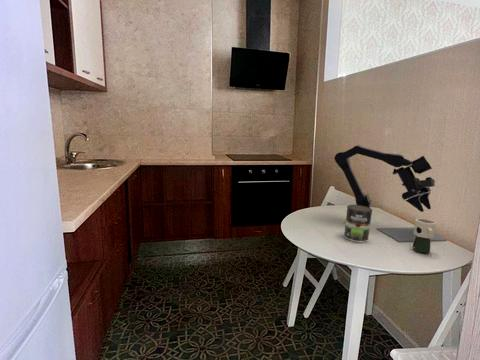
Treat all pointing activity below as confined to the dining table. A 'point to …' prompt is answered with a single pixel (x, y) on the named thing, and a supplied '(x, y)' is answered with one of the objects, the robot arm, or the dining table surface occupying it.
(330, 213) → the dining table surface
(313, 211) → the dining table surface
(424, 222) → the character mug
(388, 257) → the dining table surface
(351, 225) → the coffee can
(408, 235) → the placemat
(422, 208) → the robot arm
